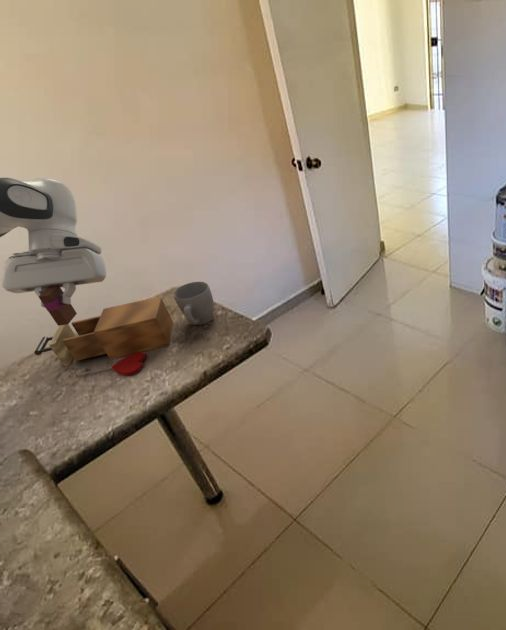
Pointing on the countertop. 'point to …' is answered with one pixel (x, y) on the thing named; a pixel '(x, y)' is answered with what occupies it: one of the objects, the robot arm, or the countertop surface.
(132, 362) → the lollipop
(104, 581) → the countertop surface
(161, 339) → the cabinet
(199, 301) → the mug
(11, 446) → the countertop surface
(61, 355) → the drawer
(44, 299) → the chocolate
